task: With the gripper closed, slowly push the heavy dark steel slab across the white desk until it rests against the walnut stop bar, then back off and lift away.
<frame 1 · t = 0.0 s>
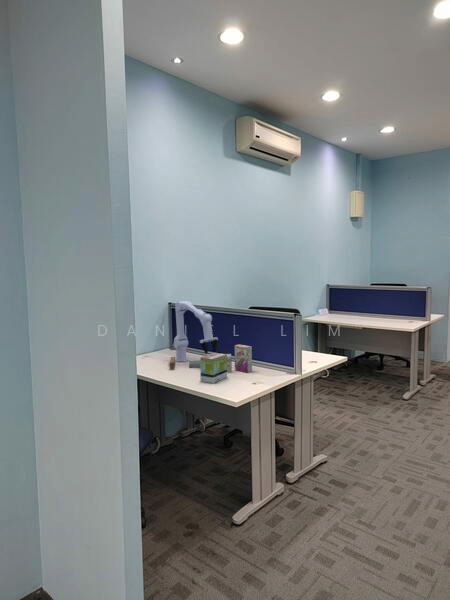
hand: (210, 352, 262), 11 cm above the table, tool pointing down, fingers open, 7 cm apart
stop bar: (172, 366, 267), on the table
candy bar box: (243, 371, 254), on the table
light bulb box: (223, 371, 254), on the table
steel slab: (196, 366, 268), on the table
tea box: (214, 379, 235), on the table
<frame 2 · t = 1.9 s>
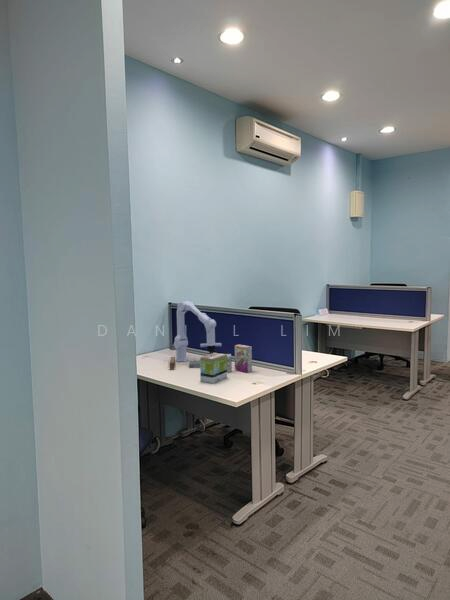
hand: (211, 356, 268), 6 cm above the table, tool pointing down, fingers closed
nothing on the table moved.
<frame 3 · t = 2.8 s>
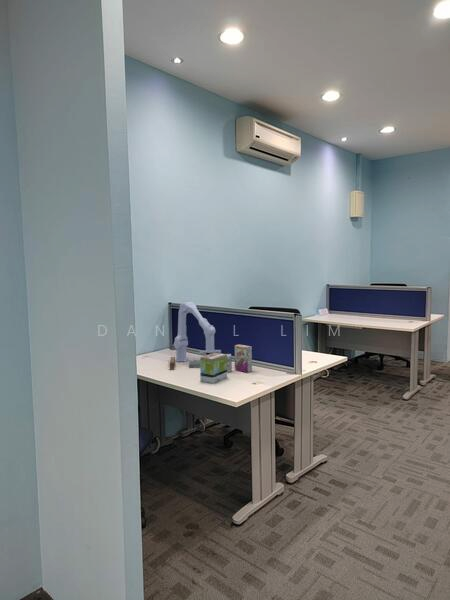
hand: (210, 363, 269), 1 cm above the table, tool pointing down, fingers closed
nothing on the table moved.
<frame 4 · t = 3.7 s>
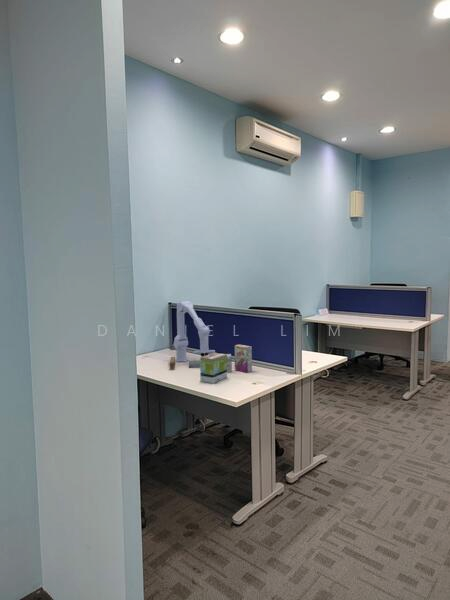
hand: (204, 363, 269), 1 cm above the table, tool pointing down, fingers closed
steel slab: (196, 366, 268), on the table, touching gripper
everything else where it was.
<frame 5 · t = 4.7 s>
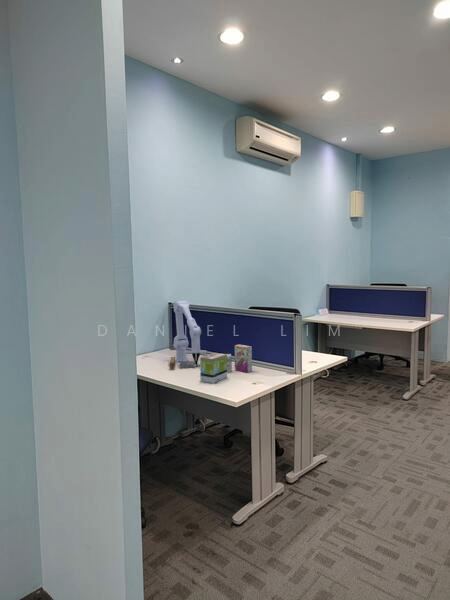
hand: (196, 364, 268), 1 cm above the table, tool pointing down, fingers closed
steel slab: (187, 367, 267), on the table, touching gripper
everything else where it was.
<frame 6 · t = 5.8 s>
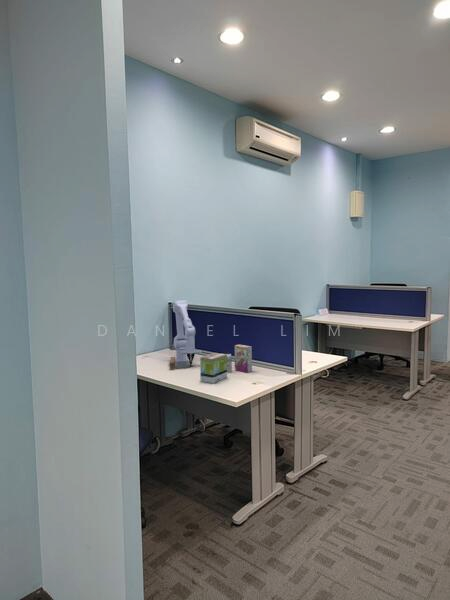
hand: (191, 364, 268), 1 cm above the table, tool pointing down, fingers closed
steel slab: (182, 367, 267), on the table, touching gripper
everything else where it was.
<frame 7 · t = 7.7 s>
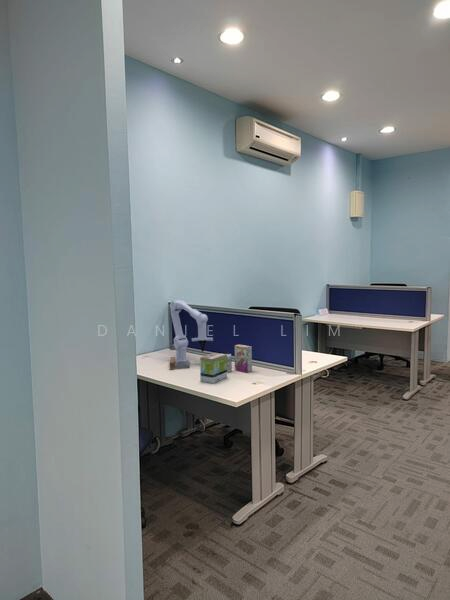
hand: (202, 351, 271), 9 cm above the table, tool pointing down, fingers closed
steel slab: (182, 367, 267), on the table
everything else where it was.
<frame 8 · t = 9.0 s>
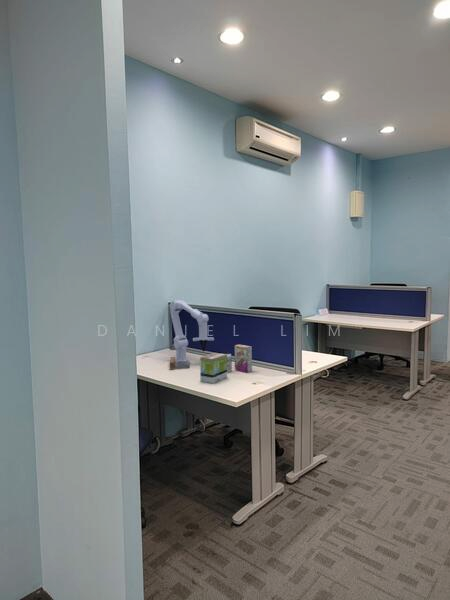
hand: (203, 351, 272), 9 cm above the table, tool pointing down, fingers closed
nothing on the table moved.
at the end: steel slab 1.0 cm from the target spot, on the table; steel slab moved 10.0 cm from its start; steel slab tilted 0° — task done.
